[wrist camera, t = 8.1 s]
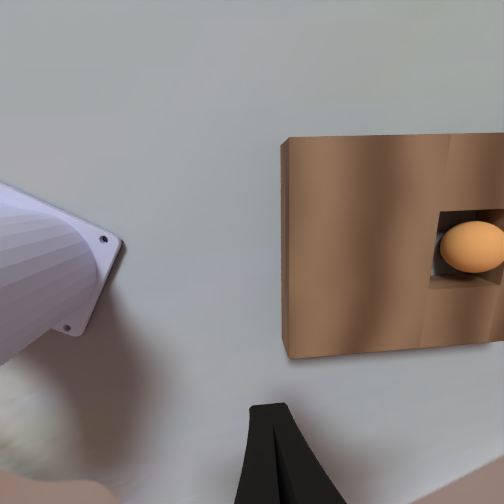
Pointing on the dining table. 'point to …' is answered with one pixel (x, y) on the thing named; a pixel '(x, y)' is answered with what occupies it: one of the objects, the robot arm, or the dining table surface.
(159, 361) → the dining table surface
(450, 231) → the ball
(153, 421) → the dining table surface
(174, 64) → the dining table surface
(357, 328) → the board
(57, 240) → the robot arm
